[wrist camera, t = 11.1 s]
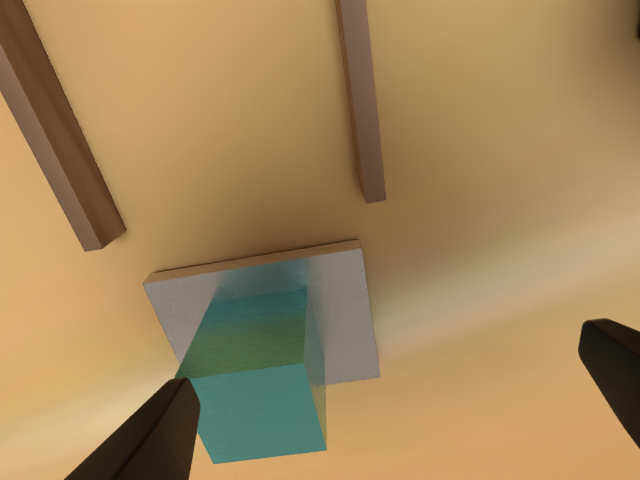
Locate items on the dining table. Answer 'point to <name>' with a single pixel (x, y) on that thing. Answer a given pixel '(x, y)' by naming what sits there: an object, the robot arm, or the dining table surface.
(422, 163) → the dining table surface
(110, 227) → the walnut channel
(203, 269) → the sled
